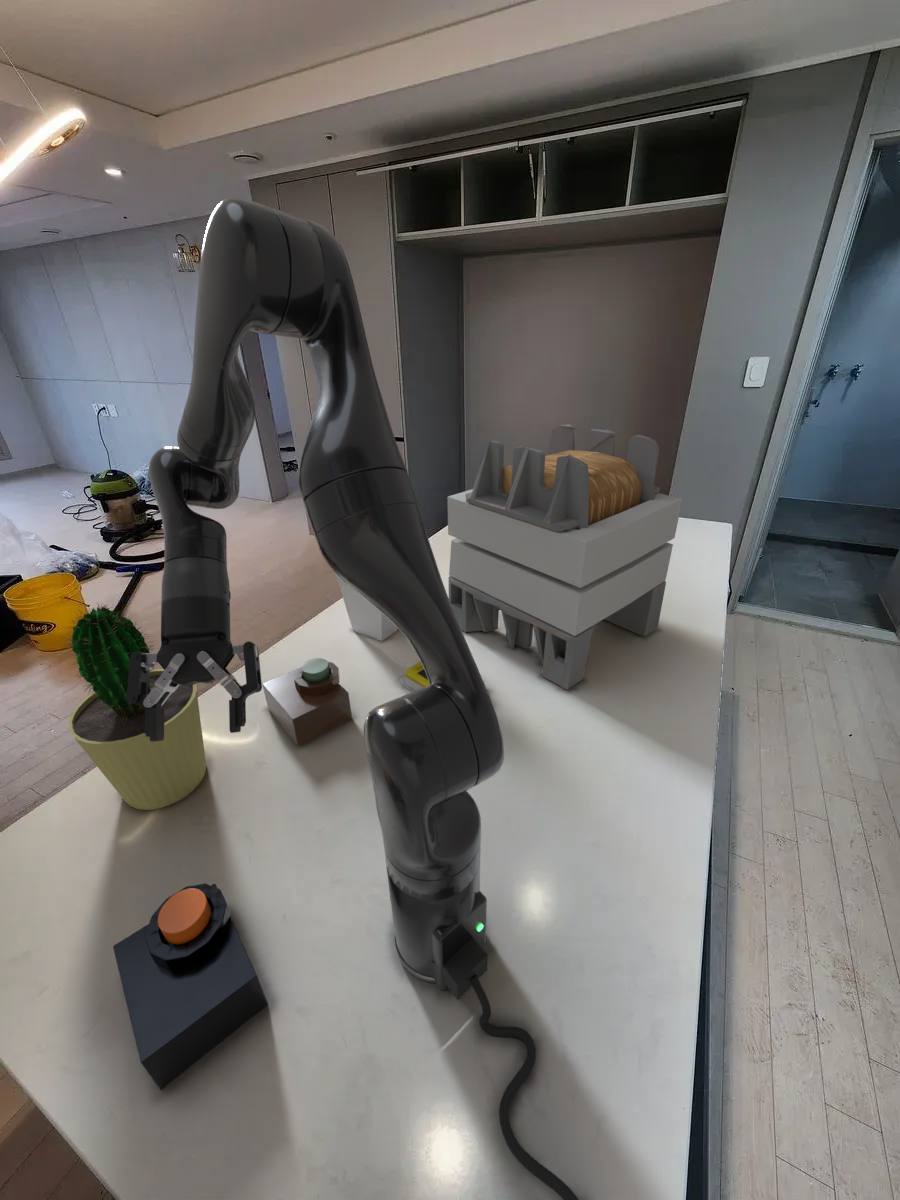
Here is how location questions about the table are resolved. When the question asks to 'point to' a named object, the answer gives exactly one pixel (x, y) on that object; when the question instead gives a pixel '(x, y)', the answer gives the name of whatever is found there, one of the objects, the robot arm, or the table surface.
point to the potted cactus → (132, 717)
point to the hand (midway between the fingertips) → (196, 736)
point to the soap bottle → (365, 614)
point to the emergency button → (415, 678)
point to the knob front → (184, 916)
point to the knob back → (315, 670)
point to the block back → (307, 704)
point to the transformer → (562, 545)
